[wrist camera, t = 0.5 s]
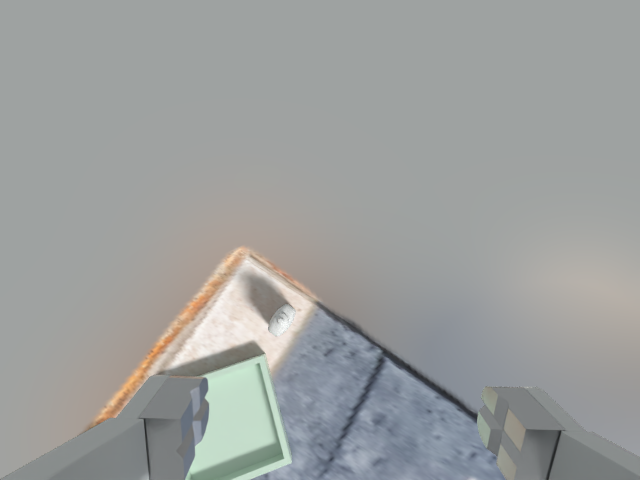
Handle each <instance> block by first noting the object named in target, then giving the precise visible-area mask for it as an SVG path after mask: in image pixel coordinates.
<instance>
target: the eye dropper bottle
mask: <svg viewBox="0 0 640 480" xmlns="http://www.w3.org/2000/svg"><path fill="white" fill-rule="evenodd" d="M294 316H295V309H294V308H293V307H291V306H290V305H288V304H285V305H283V306H282V307H280V308H279V309H278V310H277V311H276V312H275V313H274V315H273V316H272V318H271V320H270V323H269V327H268V330H269V332H270V333H272V334H273V335H275V336H280V335H281V334H283V333H284V332H285V331H286V330H287V329H288V328H289V326H290V325H291V323H292V321H293V319H294Z"/></svg>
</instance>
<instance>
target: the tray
mask: <svg viewBox="0 0 640 480" xmlns="http://www.w3.org/2000/svg"><path fill="white" fill-rule="evenodd" d="M196 377H206V378H207V379H208V389H209V390H208V392H207V394H206V396H205V399H206V400H207V401H208V402H209V419H208V423H207V427H206V431H205V434H204V436H203V439H202V441H201V442H200V443H198V444H197V445H196V446H195V458H194V460H193V462H192V465H191V467H190V469H189V471H188V474H187V476H186V478H185V480H250V479H252V478H255V477H257V476H260V475H262V474H265V473H267V472H270V471H272V470H275V469H277V468H280V467H283V466H285V465H288V464H290V463H292V453H291V450H290V446H289V442H288V438H287V434H286V431H285V427H284V423H283V419H282V415H281V411H280V408H279V404H278V400H277V396H276V392H275V389H274V385H273V381H272V377H271V373H270V369H269V366H268V362H267V358H266V354H265V353H264V354H261V355H258V356H255V357H252V358H249V359H246V360H243V361H240V362H237V363H234V364H231V365H228V366H225V367H222V368H219V369H217V370H214V371H211V372H208V373H205V374H202V375H199V376H196Z"/></svg>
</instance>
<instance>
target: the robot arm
mask: <svg viewBox="0 0 640 480" xmlns="http://www.w3.org/2000/svg"><path fill="white" fill-rule="evenodd" d="M208 390H209V389H208V379H207V378H206V377H195V376H177V375H172V376H170V375H153V376H150V377H149V378H148V380H147V381H146V382H145V383H144V384H143V386H142V387H141V388H140V389H139V391H138V392H137V393H136V394H135V395H134V397H133V398H132V399H131V400H130V401H129V403H128V404H127V405H126V406H125V408H124V409H123V410H122V411H121V412H120V414H119V415H118V416H117V417H116V418H109V419H107V420H105V421H104V422H102V423H100V424H98V425H96V426H95V427H93V428H91V429H89V430H88V431H86V432H84V433H82V434H80V435H79V436H77V437H75V438H73V439H71V440H70V441H68V442H66V443H64V444H62V445H61V446H59V447H57V448H55V449H53V450H52V451H50V452H48V453H46V454H44V455H43V456H41V457H39V458H37V459H36V460H34V461H32V462H30V463H28V464H27V465H25V466H23V467H21V468H19V469H18V470H16V471H14V472H12V473H10V474H9V475H7V476H5V477H3V478H1V479H0V480H185V478H186V476H187V474H188V471H189V469H190V467H191V465H192V462H193V460H194V458H195V446H196V445H197V444H198V443H200V442H201V441H202V439H203V436H204V434H205V431H206V427H207V423H208V419H209V402H208V401H207V400H206V399H205V396H206V394H207V392H208ZM481 399H482V401H483V402H484V404H485V405H484V406H483V407H482V408H481V409H480V410H479V412H478V419H477V424H478V430H479V434H480V437H481V439H482V441H483V443H484V445H485V446H486V448H487V449H488V450H489V451H491V452H492V453H493V454H495V455H496V456H497V463H496V464H497V466H498V467H499V469H500V470H501V472H502V474H503V475H504V477H505V478H506V480H640V457H639V456H637V455H635V454H633V453H631V452H629V451H627V450H626V449H624V448H622V447H620V446H618V445H616V444H615V443H613V442H611V441H609V440H607V439H605V438H603V437H601V436H599V435H598V434H596V433H594V432H587V431H586V430H584V429H583V428H582V426H580V425H579V424H578V423H577V422H576V421H575V420H574V419H573V418H572V417H571V416H570V415H569V414H568V413H567V412H566V411H565V410H564V409H563V408H561V407H560V406H559V405H558V404H557V403H556V402H555V401H554V400H553V399H552V398H551V397H550V396H549V395H548V394H547V393H546V392H545V391H544V390H542V389H540V388H538V387H487V386H486V387H485V388H484V390H483V391H482V397H481Z"/></svg>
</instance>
